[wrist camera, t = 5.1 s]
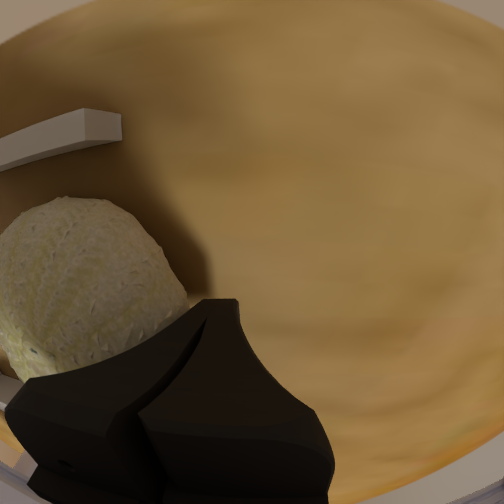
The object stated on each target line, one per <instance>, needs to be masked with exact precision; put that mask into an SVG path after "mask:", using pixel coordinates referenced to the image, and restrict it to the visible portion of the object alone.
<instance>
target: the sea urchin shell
mask: <svg viewBox="0 0 504 504" xmlns="http://www.w3.org/2000/svg"><path fill="white" fill-rule="evenodd" d="M188 310H190V307H189V303H188V299H187V292H186V291H185V290H184V286H183V285H182V284H181V283H180V282H179V280H178V279H177V278H176V276H175V274H174V273H173V271H172V270H171V268H170V266H169V263H168V260H167V259H166V257H165V256H164V253H163V250H162V247H160V246H158V244H157V243H156V242H155V240H154V239H153V238H152V237H151V236H150V235H149V234H148V233H147V232H146V231H145V230H144V229H143V227H142V226H141V224H140V223H139V222H138V220H137V219H136V218H135V217H134V216H133V215H132V214H130V213H129V212H126V211H125V210H123V209H122V208H120V207H118V206H116V205H114V204H113V203H112V202H111V201H108V200H106V199H102V200H99V199H82V198H75V197H74V198H69V197H68V196H67V195H66V196H64V197H63V198H60V197H57V198H55V199H54V200H53V201H50V202H47V203H45V204H42V205H40V206H34V207H33V208H30V209H29V210H28V211H26V212H23V211H21V214H20V216H17V218H16V219H14V220H13V222H12V223H11V224H10V225H9V226H8V227H7V228H6V229H5V230H4V232H3V233H2V234H0V345H1V346H2V349H3V350H4V351H5V352H6V354H7V356H8V359H9V362H10V366H11V367H12V368H13V369H14V370H15V372H16V374H17V376H18V378H19V380H21V381H22V382H24V383H25V382H26V381H27V380H28V379H29V378H33V377H40V376H46V375H52V374H58V373H63V372H67V371H71V370H75V369H79V368H82V367H86V366H89V365H92V364H95V363H98V362H101V361H103V360H106V359H108V358H111V357H113V356H115V355H118V354H120V353H123V352H125V351H127V350H129V349H131V348H133V347H135V346H137V345H139V344H140V343H142V342H144V341H146V340H147V339H149V338H151V337H152V336H154V335H155V334H157V333H158V332H160V331H161V330H163V329H164V328H166V327H167V326H169V325H170V324H171V323H173V322H174V321H175V320H177V319H178V318H179V317H181V316H182V315H183V314H185V313H186V312H187V311H188Z"/></svg>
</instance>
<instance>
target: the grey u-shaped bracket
mask: <svg viewBox="0 0 504 504" xmlns="http://www.w3.org/2000/svg"><path fill="white" fill-rule="evenodd" d="M121 140H122V126H121V114H118V113H113V112H107V111H101V110H95V109H89V108H82V109H78V110H75V111H72V112H69V113H66V114H62V115H59V116H56V117H54V118H51V119H48V120H45V121H42V122H40V123H37V124H34V125H32V126H29V127H26V128H24V129H21V130H19V131H17V132H14V133H12V134H9V135H7V136H5V137H2V138H0V172H2V171H5V170H8V169H11V168H14V167H17V166H20V165H23V164H27V163H30V162H33V161H37V160H40V159H44V158H47V157H51V156H55V155H59V154H62V153H66V152H70V151H74V150H79V149H83V148H87V147H92V146H96V145H101V144H106V143H111V142H116V141H121ZM24 384H25V383H24V382H22V381H20V380H17V379H14V378H11V377H8V376H5V375H3V374H2V373H1V371H0V410H3V411H4V408H5V407H6V406H7V404H8V403H9V402H10V401H11V399H12V398H13V397H14V396H15V395H16V393H17V392H18V391H19V390H20V388H21V387H22V386H23V385H24Z"/></svg>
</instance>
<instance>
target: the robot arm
mask: <svg viewBox="0 0 504 504" xmlns="http://www.w3.org/2000/svg"><path fill="white" fill-rule="evenodd" d="M4 412H5V419H6V421H7V424H8V426H9V428H10V429H11V431H12V432H13V434H14V436H15V437H16V438H17V440H18V441H19V442H20V443H21V445H22V446H23V447H24V449H25V450H24V452H23V453H22V455H21V456H20V458H19V460H18V461H17V463H16V464H15V466H14V467H13V468H11V467H9V466H8V465H6V464H4V463H3V462H1V461H0V504H329V502H328V490H329V487H330V484H331V481H332V477H333V474H334V471H335V459H334V455H333V451H332V448H331V445H330V443H329V440H328V437H327V435H326V433H325V431H324V429H323V426H322V424H321V423H320V421H319V419H318V417H317V415H316V413H315V411H314V410H313V409H311V408H310V407H308V406H307V405H305V404H304V403H302V402H301V401H299V400H298V399H297V398H295V397H294V396H293V395H292V394H290V393H289V392H288V391H287V390H286V389H285V388H284V387H283V386H281V385H280V384H279V383H278V381H277V380H276V379H275V378H274V377H273V376H272V375H271V374H270V373H269V372H268V371H267V370H266V368H265V367H264V366H263V364H262V363H261V362H260V360H259V359H258V358H257V356H256V355H255V353H254V351H253V350H252V348H251V346H250V344H249V343H248V341H247V339H246V336H245V334H244V332H243V329H242V327H241V324H240V314H239V302H238V301H237V300H236V299H203V300H201V301H200V302H199V303H197V304H196V305H195V306H194V307H192V308H191V309H190V310H188V311H187V312H186V313H185V314H183V315H182V316H181V317H179V318H178V319H177V320H175V321H174V322H173V323H171V324H170V325H169V326H167V327H166V328H164V329H163V330H161V331H160V332H158V333H157V334H155V335H154V336H152V337H151V338H149V339H147V340H146V341H144V342H142V343H140V344H139V345H137V346H135V347H133V348H131V349H129V350H127V351H125V352H123V353H120V354H118V355H115V356H113V357H111V358H108V359H106V360H103V361H101V362H98V363H95V364H92V365H89V366H86V367H82V368H79V369H75V370H71V371H67V372H63V373H58V374H52V375H46V376H40V377H33V378H29V379H28V380H27V381H26V382H25V384H24V385H23V386H22V387H21V388H20V390H19V391H18V392H17V393H16V395H15V396H14V397H13V398H12V399H11V401H10V402H9V403H8V404H7V406H6V407H5V408H4ZM447 504H504V478H503V479H501V480H499V481H498V482H495V483H494V484H491V485H489V486H487V487H485V488H483V489H481V490H479V491H476V492H474V493H472V494H470V495H467V496H465V497H462V498H460V499H457V500H455V501H452V502H450V503H447Z"/></svg>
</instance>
